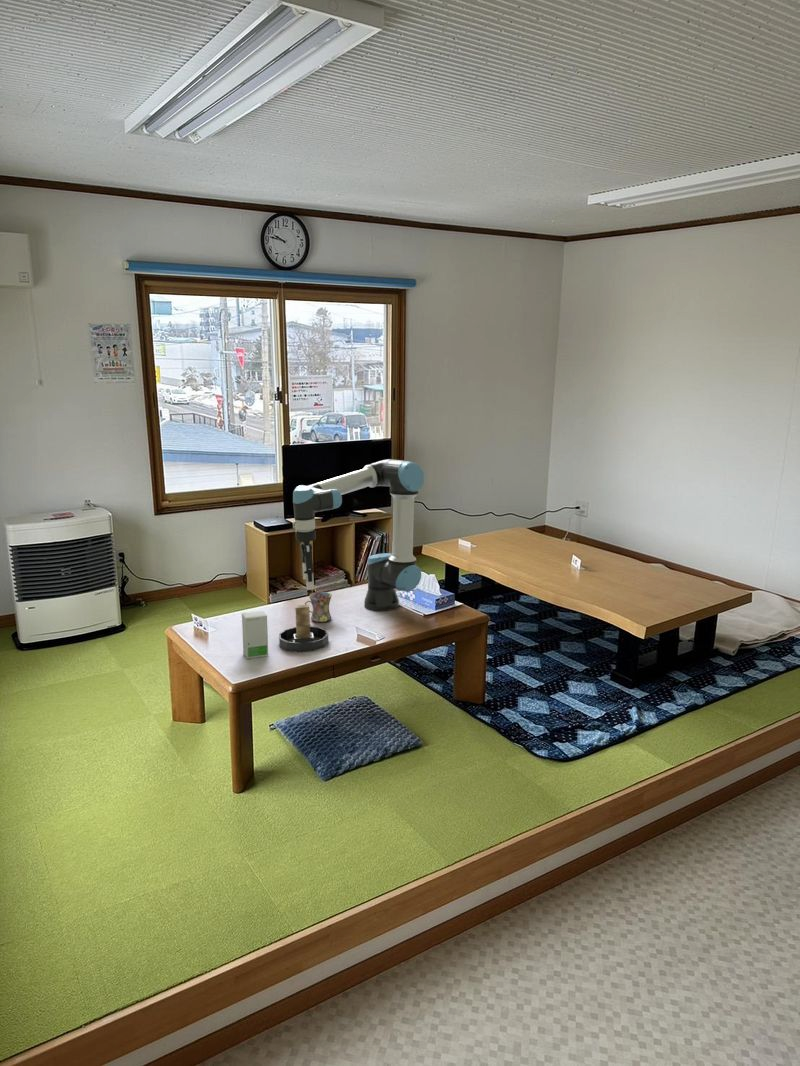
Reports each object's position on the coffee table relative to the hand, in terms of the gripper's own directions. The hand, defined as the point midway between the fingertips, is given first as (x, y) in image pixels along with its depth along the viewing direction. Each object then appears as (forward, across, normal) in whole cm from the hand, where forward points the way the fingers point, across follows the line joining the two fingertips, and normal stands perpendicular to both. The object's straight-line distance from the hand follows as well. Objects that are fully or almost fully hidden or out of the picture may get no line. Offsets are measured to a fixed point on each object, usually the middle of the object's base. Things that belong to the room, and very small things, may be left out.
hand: (308, 584), depth 284 cm
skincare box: (+22, +11, -22) cm, 33 cm away
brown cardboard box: (+21, +4, -4) cm, 22 cm away
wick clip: (+22, +4, -4) cm, 23 cm away
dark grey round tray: (+22, +4, -4) cm, 23 cm away
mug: (+23, -20, +5) cm, 31 cm away
